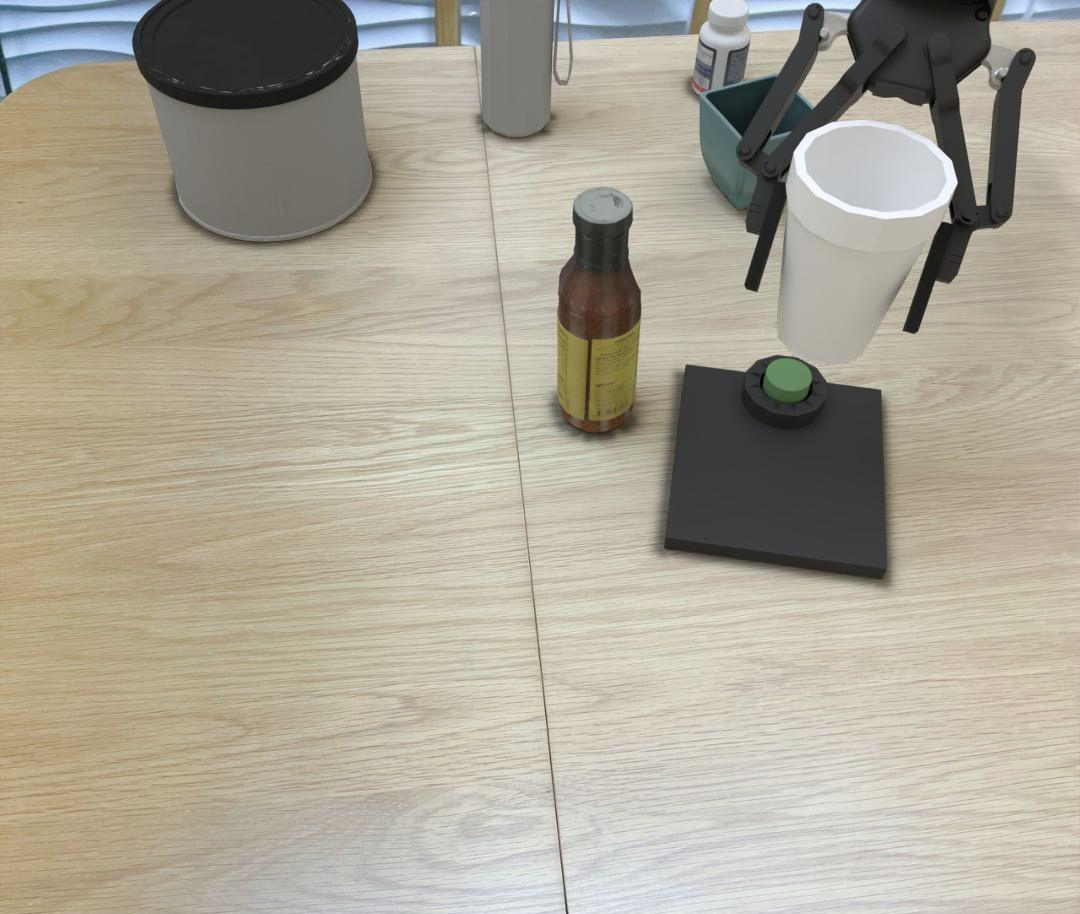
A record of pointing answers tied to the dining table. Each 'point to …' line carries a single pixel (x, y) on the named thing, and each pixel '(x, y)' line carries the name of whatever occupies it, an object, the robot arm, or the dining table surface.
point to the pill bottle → (722, 46)
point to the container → (258, 112)
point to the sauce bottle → (598, 315)
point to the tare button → (787, 381)
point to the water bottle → (519, 63)
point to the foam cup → (854, 232)
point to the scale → (779, 473)
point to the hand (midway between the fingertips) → (829, 309)
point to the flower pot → (740, 132)
